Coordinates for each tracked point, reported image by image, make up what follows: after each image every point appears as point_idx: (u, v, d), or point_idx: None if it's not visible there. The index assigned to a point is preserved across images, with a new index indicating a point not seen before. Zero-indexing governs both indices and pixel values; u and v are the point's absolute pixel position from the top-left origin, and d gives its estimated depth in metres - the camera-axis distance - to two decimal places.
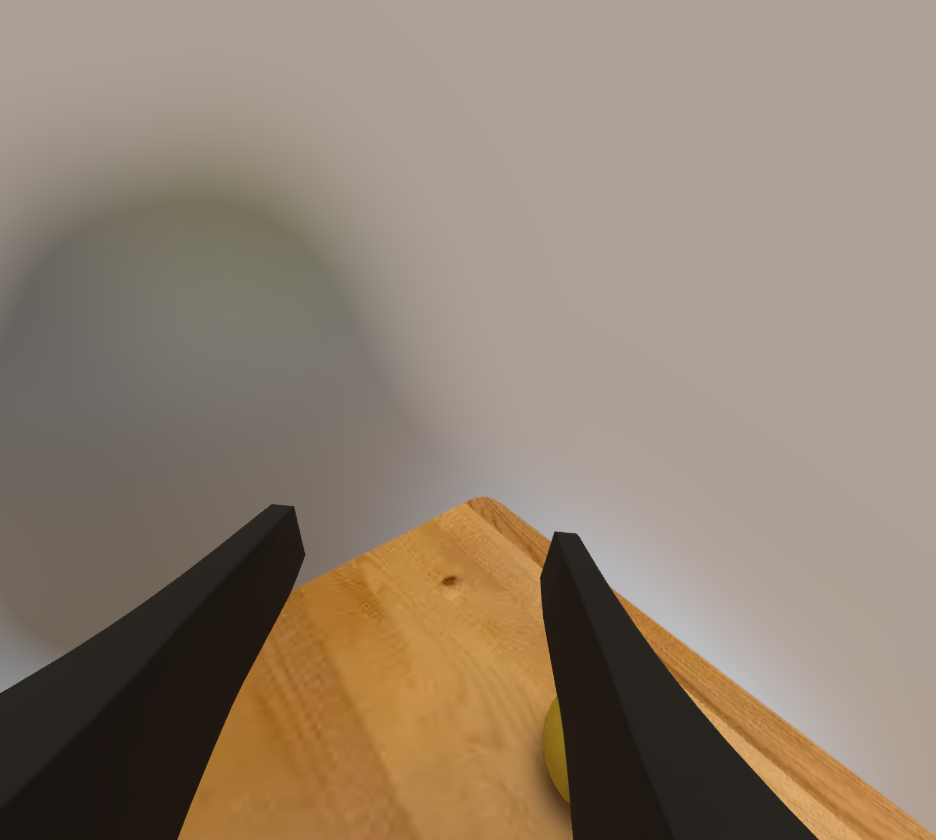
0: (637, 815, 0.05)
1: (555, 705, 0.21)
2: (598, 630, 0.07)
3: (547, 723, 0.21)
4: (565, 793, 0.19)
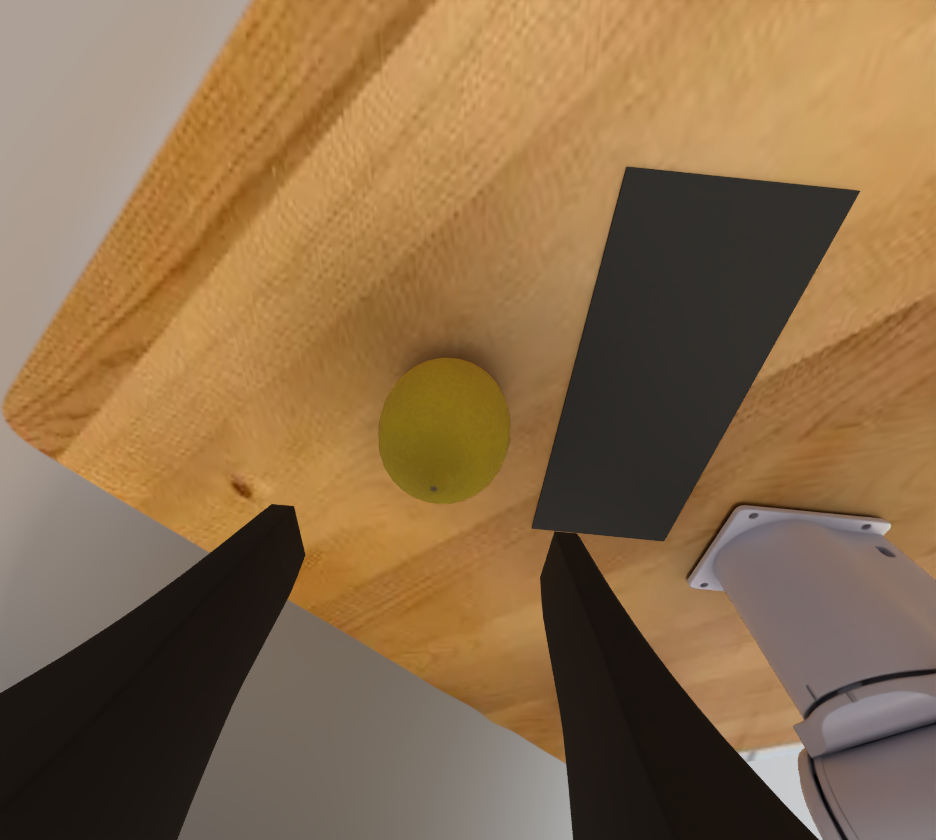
0: (637, 815, 0.05)
1: None
2: (598, 630, 0.07)
3: None
4: None
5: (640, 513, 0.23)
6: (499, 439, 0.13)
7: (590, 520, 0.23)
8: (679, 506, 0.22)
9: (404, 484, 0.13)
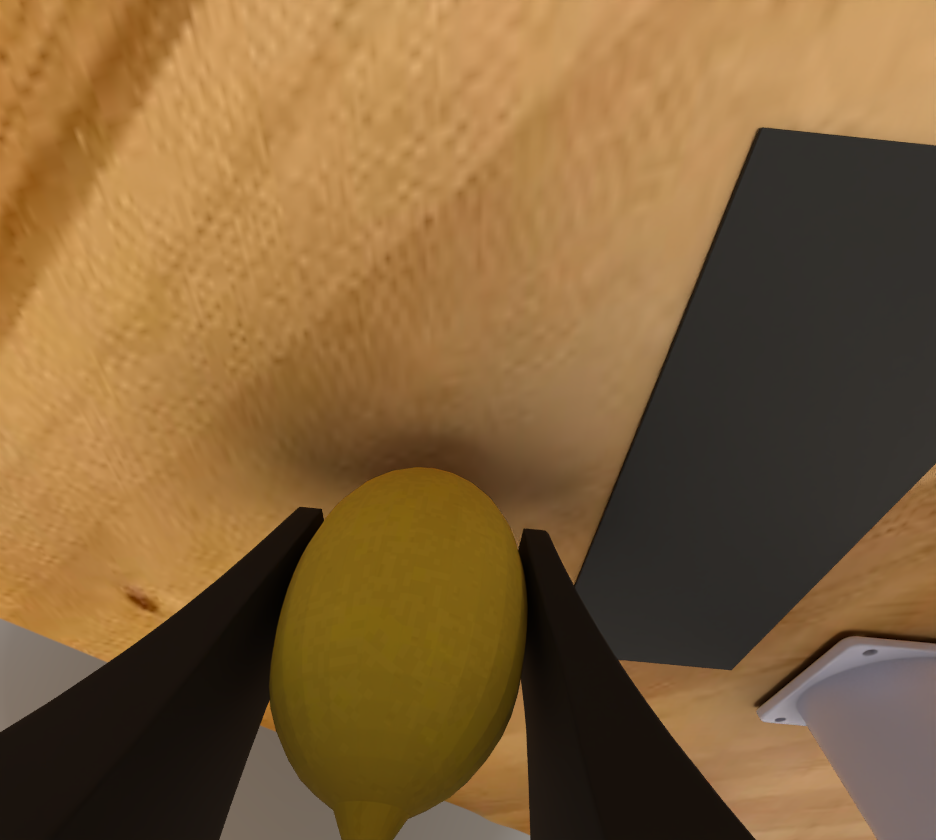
0: (576, 810, 0.05)
1: None
2: (555, 626, 0.07)
3: None
4: None
5: (702, 639, 0.16)
6: (510, 682, 0.06)
7: (631, 646, 0.17)
8: (761, 634, 0.16)
9: None
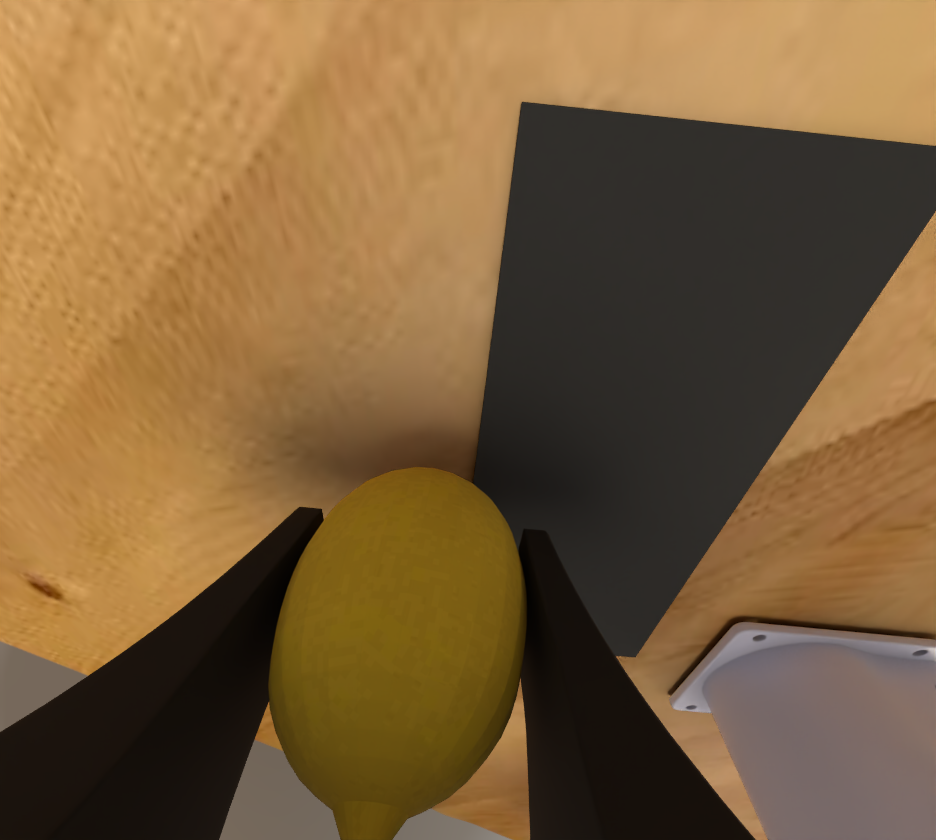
0: (576, 810, 0.05)
1: None
2: (554, 626, 0.07)
3: None
4: None
5: (600, 626, 0.16)
6: (509, 682, 0.06)
7: None
8: (655, 620, 0.16)
9: None
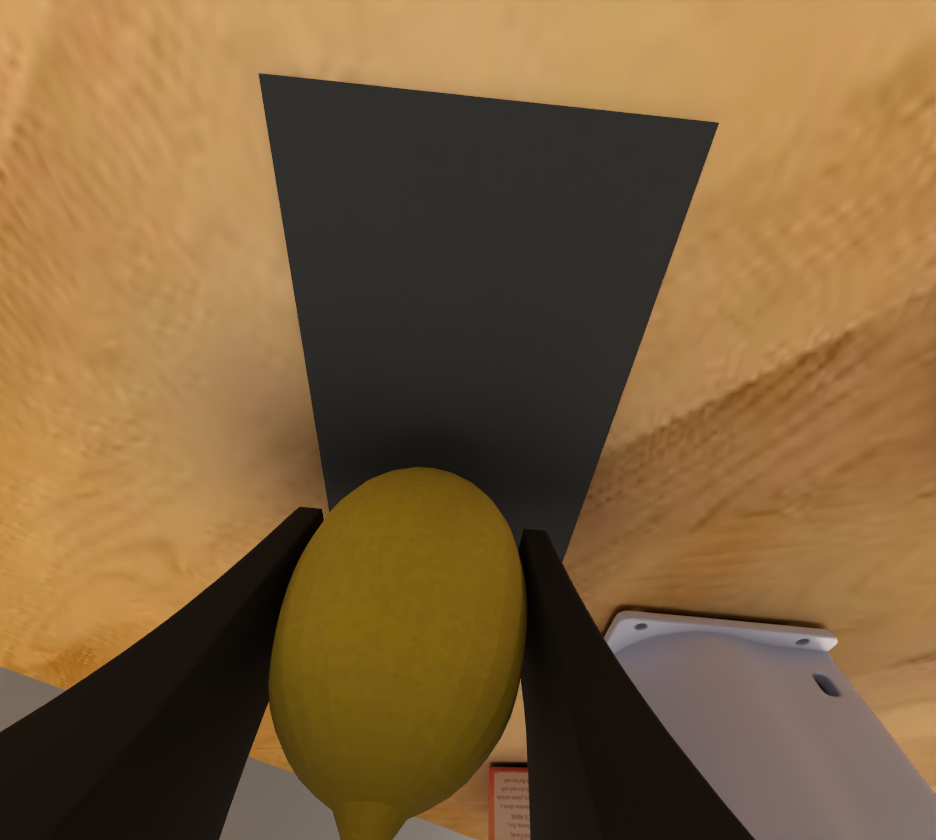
0: (576, 810, 0.05)
1: None
2: (555, 626, 0.07)
3: None
4: None
5: None
6: (510, 682, 0.06)
7: None
8: None
9: None
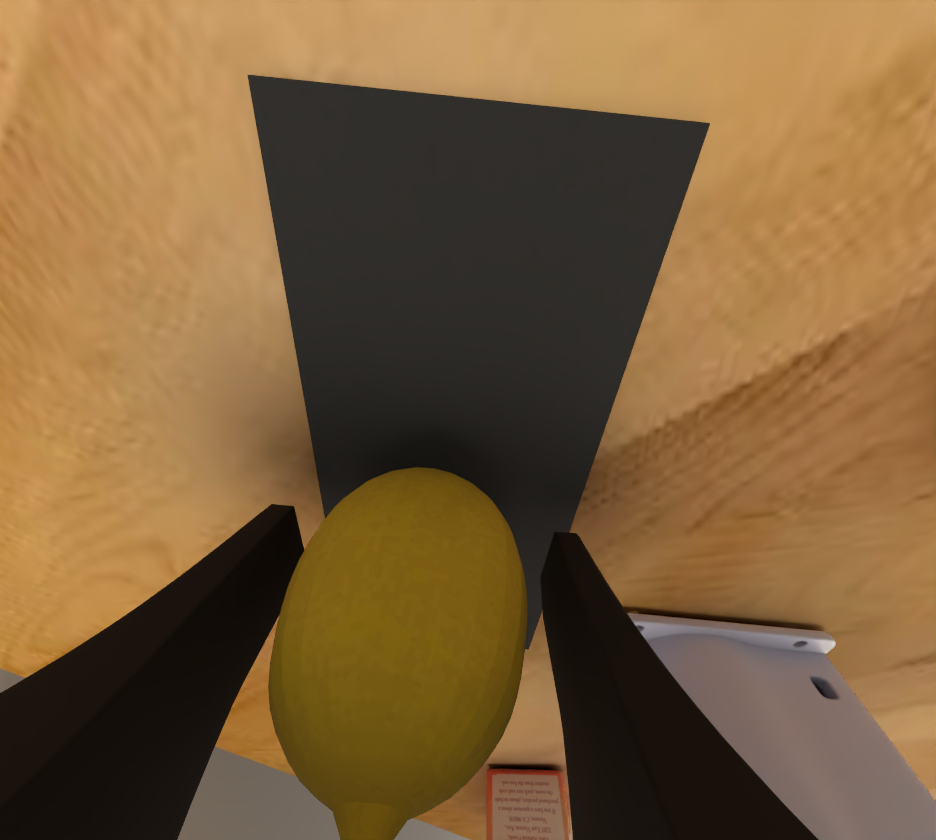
0: (637, 815, 0.05)
1: None
2: (598, 630, 0.07)
3: None
4: None
5: None
6: (510, 683, 0.06)
7: None
8: (536, 611, 0.16)
9: None
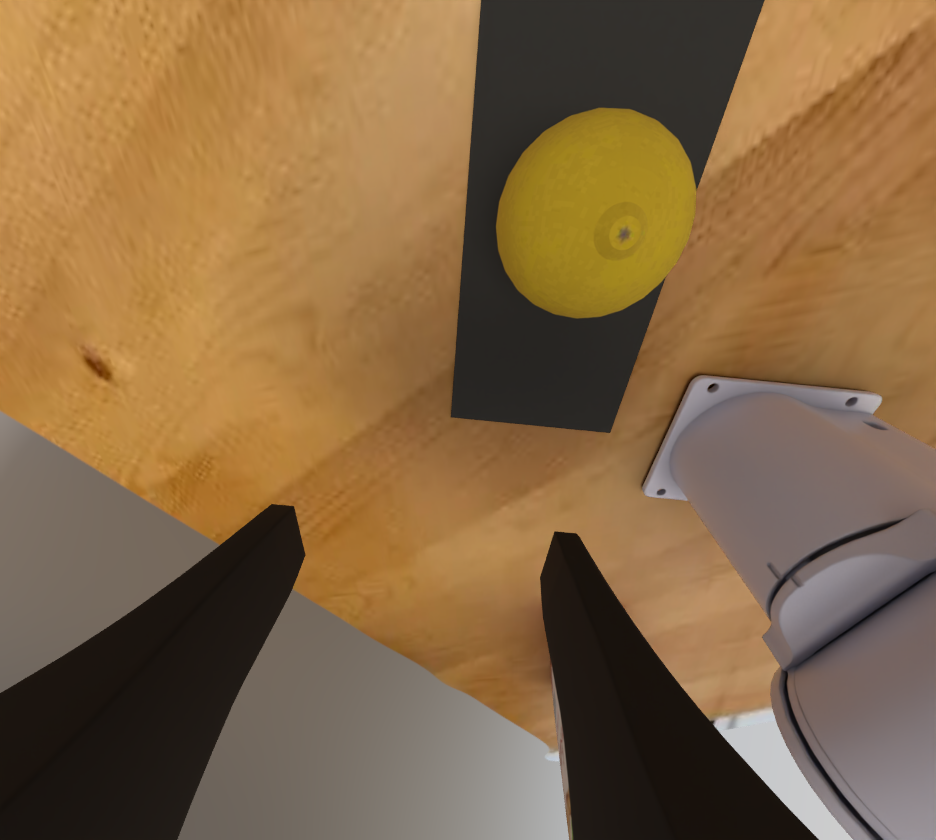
0: (637, 815, 0.05)
1: (542, 306, 0.11)
2: (598, 630, 0.07)
3: (551, 312, 0.12)
4: None
5: (578, 392, 0.19)
6: (695, 194, 0.09)
7: (519, 404, 0.19)
8: (624, 380, 0.18)
9: (561, 254, 0.09)
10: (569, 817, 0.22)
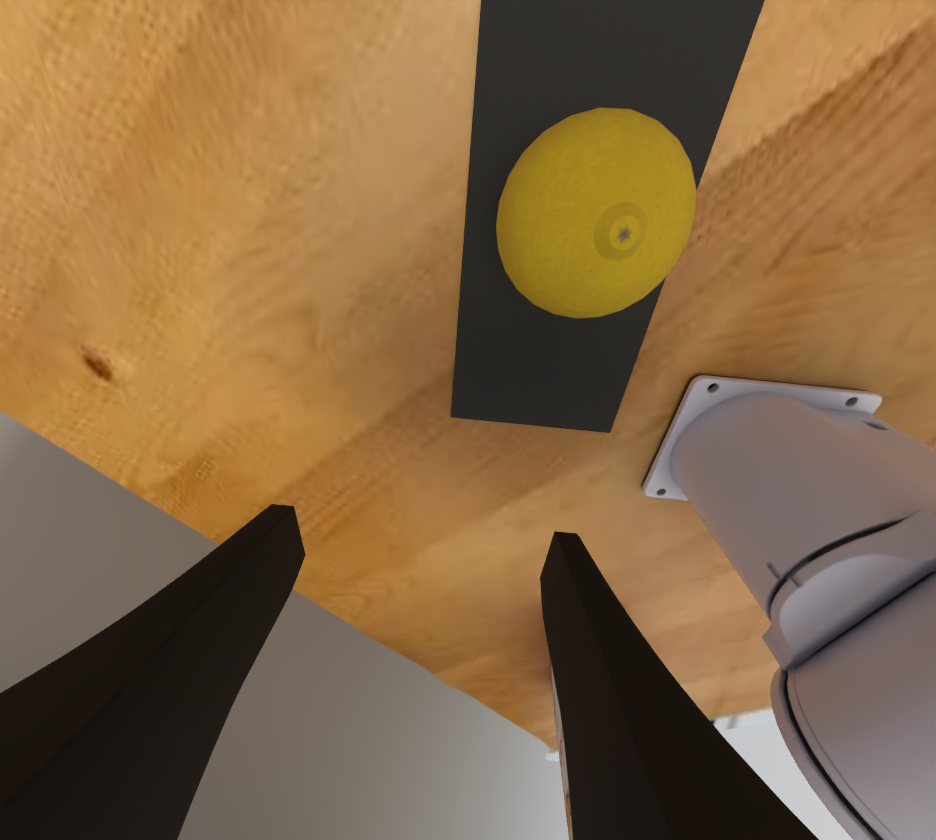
0: (637, 815, 0.05)
1: (542, 306, 0.11)
2: (598, 630, 0.07)
3: (551, 312, 0.12)
4: None
5: (578, 392, 0.19)
6: (695, 194, 0.09)
7: (519, 404, 0.19)
8: (624, 380, 0.18)
9: (561, 254, 0.09)
10: (569, 817, 0.22)
